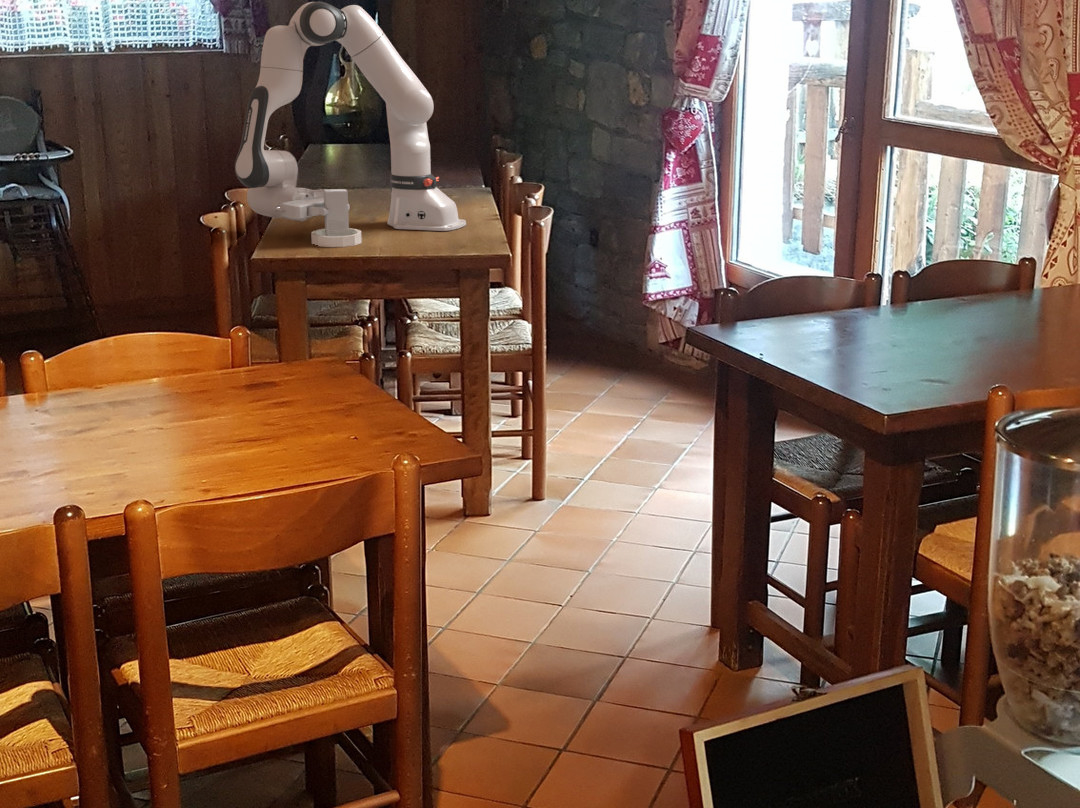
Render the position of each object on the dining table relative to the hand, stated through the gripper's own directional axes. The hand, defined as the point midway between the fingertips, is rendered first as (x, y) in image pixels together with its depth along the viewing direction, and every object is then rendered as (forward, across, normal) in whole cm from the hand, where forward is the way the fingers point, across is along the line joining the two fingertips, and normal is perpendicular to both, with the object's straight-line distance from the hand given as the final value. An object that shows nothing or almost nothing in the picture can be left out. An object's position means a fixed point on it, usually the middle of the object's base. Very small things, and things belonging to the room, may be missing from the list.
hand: (337, 209), depth 324 cm
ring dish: (-1, 0, +9) cm, 9 cm away
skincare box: (0, 0, +7) cm, 7 cm away
